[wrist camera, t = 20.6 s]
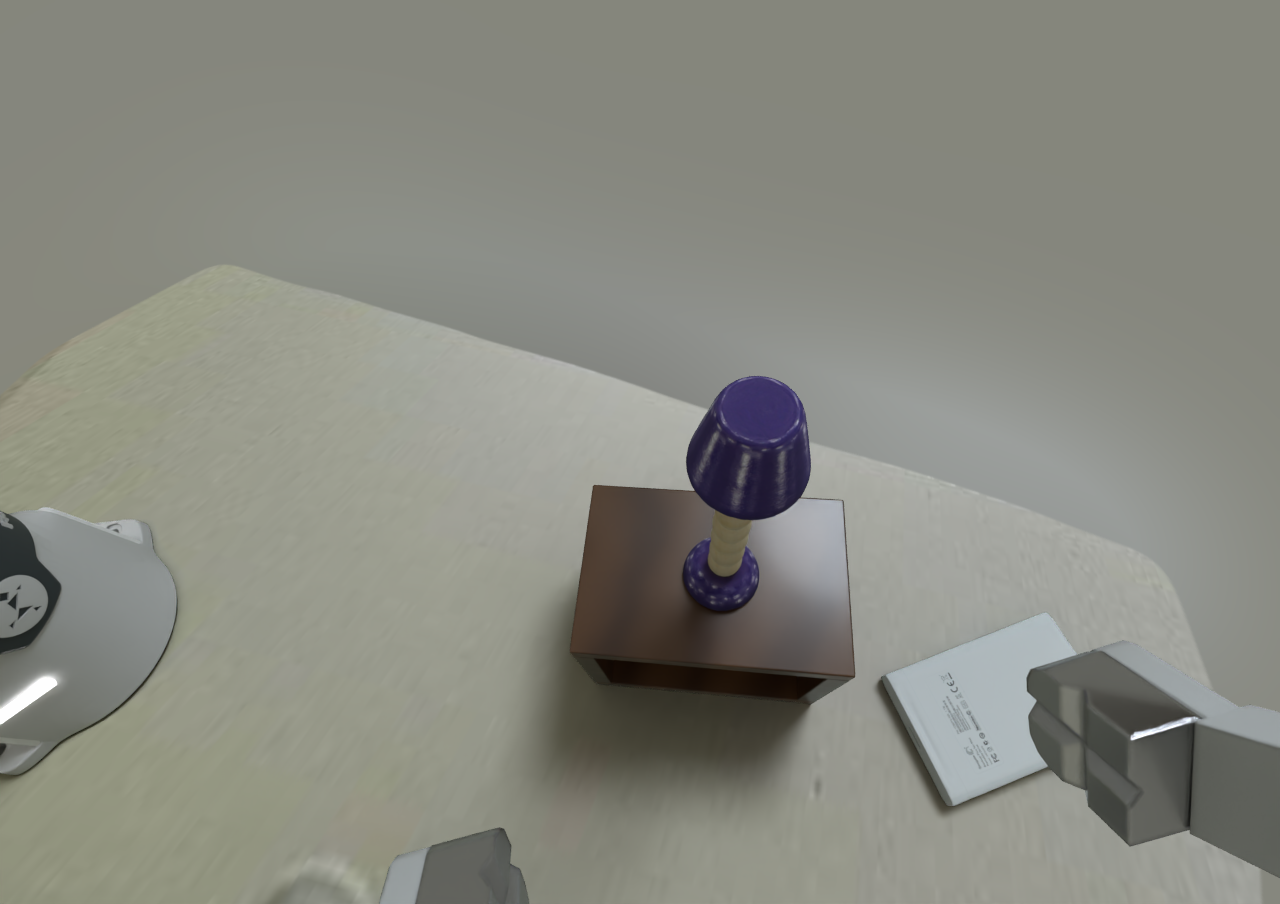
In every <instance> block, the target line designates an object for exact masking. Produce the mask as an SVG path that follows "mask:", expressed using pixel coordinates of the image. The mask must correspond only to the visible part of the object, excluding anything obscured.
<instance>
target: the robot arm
mask: <svg viewBox="0 0 1280 904" xmlns="http://www.w3.org/2000/svg"><path fill="white" fill-rule="evenodd" d="M176 608H177V595H176V588H175V584H174V581H173V578H172V576H171V574H170V572H169V570H168V568H167V567H166V566H165V565H164V563H163V562H162V561H161V560H160V559H159V558H158V556H157V555H156V554H155V552H154V550H153V542H152V535H151V531H150V528H149V526H148V525H147V524H146V523H144V522H141V521H138V520H135V519H126V520H117V521H109V522H101V523H91V522H88V521H86V520H83V519H80V518H78V517H75V516H72V515H69V514H67V513H64V512H61V511H59V510H56V509H52V508H47V507H42V508H40V509H38V510H26V511H20V512H15V513H10V514H6V513H4V512H1V511H0V773H3V774H10V775H18V774H21V773H23V772H25V771H26V770H28V769H29V768H31V767H32V766H33V765H35V764H36V763H37V762H38V761H39V760H41V759H42V758H43V757H44V756H45V755H46V754H47V753H48V752H49V751H50V750H51V749H53V748H54V747H55V746H56V745H57V744H58V743H59V742H60V741H62V740H63V739H65V738H67V737H68V736H70V735H72V734H74V733H76V732H78V731H80V730H82V729H84V728H86V727H88V726H90V725H92V724H93V723H95V722H97V721H99V720H100V719H102V718H103V717H105V716H106V715H108V714H109V713H110V712H112V711H113V710H114V709H116V708H117V707H118V706H119V705H121V704H122V703H123V702H124V701H125V700H126V699H127V698H128V697H129V696H130V695H131V694H132V693H133V692H134V691H135V690H136V689H137V688H138V687H139V686H140V685H141V684H142V682H143V681H144V680H145V679H146V678H147V676H148V675H149V674H150V672H151V671H152V669H153V668H154V666H155V665H156V663H157V662H158V660H159V658H160V657H161V655H162V653H163V651H164V649H165V647H166V645H167V643H168V640H169V638H170V635H171V632H172V629H173V625H174V621H175V616H176ZM1026 681H1027V692H1028V693H1029V694H1030V695H1031V696H1032V697H1033V698H1034V699H1036V700H1037V701H1036V703H1035V704H1034V706H1033V708H1032V710H1031V711H1030V713H1029V715H1028V720H1029V730H1030V735H1031V738H1032V740H1033V742H1034V744H1035V747H1036V749H1037V751H1038V753H1039V755H1040V756H1041V757H1042V759H1043V760H1044V762H1045V763H1046V764H1047V766H1048V767H1049V768H1050V769H1051V770H1052V771H1053V772H1054V773H1055V774H1056V775H1057V776H1058V777H1059V778H1060V779H1061V780H1062V781H1064V782H1066V783H1068V784H1071V785H1073V786H1076V787H1078V788H1081V789H1083V790H1085V792H1086V798H1087V803H1088V807H1089V808H1091V809H1092V810H1093V811H1094V812H1095V813H1096V814H1097V815H1098V816H1099V817H1100V818H1101V819H1102V820H1103V821H1104V822H1105V823H1106V824H1107V825H1108V826H1109V827H1110V828H1111V829H1112V830H1113V831H1114V832H1115V833H1116V834H1117V835H1118V836H1120V837H1121V838H1122V839H1123V840H1124V841H1125V842H1126V843H1127V844H1128V845H1129V846H1134V845H1137V844H1141V843H1144V842H1148V841H1152V840H1155V839H1159V838H1162V837H1166V836H1169V835H1173V834H1176V833H1180V832H1183V831H1187V830H1190V834H1192V835H1194V836H1196V837H1198V838H1200V839H1202V840H1204V841H1206V842H1208V843H1210V844H1212V845H1214V846H1216V847H1218V848H1220V849H1222V850H1224V851H1226V852H1228V853H1230V854H1232V855H1234V856H1236V857H1238V858H1240V859H1242V860H1244V861H1246V862H1248V863H1250V864H1252V865H1255V866H1257V867H1259V868H1261V869H1263V870H1265V871H1267V872H1269V873H1271V874H1273V875H1275V876H1277V877H1279V878H1280V712H1276V711H1273V710H1269V709H1265V708H1261V707H1257V706H1253V705H1247V706H1243V707H1238V706H1237V705H1235V704H1233V703H1232V702H1230V701H1228V700H1227V699H1225V698H1224V697H1222V696H1220V695H1219V694H1217V693H1215V692H1214V691H1212V690H1210V689H1209V688H1207V687H1206V686H1204V685H1202V684H1201V683H1199V682H1197V681H1196V680H1194V679H1193V678H1191V677H1189V676H1188V675H1186V674H1184V673H1183V672H1181V671H1179V670H1178V669H1176V668H1175V667H1173V666H1171V665H1170V664H1168V663H1166V662H1165V661H1163V660H1162V659H1160V658H1158V657H1157V656H1155V655H1153V654H1152V653H1150V652H1148V651H1147V650H1145V649H1144V648H1142V647H1140V646H1139V645H1137V644H1135V643H1132V642H1128V641H1124V640H1122V641H1119V642H1116V643H1113V644H1110V645H1106V646H1103V647H1100V648H1097V649H1094V650H1092V651H1090V652H1084V653H1081V654H1078V655H1075V656H1071V657H1068V658H1065V659H1062V660H1058V661H1055V662H1052V663H1049V664H1045V665H1042V666H1039V667H1036V668H1032V669H1030V671H1029V673H1028V675H1027V677H1026ZM5 748H6V750H5V751H4V749H5ZM3 751H4V753H3ZM510 859H511V844H510V841H509V839H508V837H507V834H506V832H505V830H504V829H503V828H500V827H499V828H495V829H491V830H488V831H484V832H480V833H476V834H473V835H469V836H465V837H462V838H458V839H454V840H450V841H447V842H443V843H439V844H435V845H432V846H431V847H428V848H424V849H420V850H416V851H413V852H409V853H405V854H401V855H397V856H396V858H395V859H394V861H393V862H392V863H391V865H390V867H389V869H388V873H387V876H386V880H385V883H384V887H383V890H382V894H381V897H380V901H379V904H529V898H528V894H527V890H526V885H525V881H524V879H523V876H522V873H521V870H520V869H519V868H517V867H515V866H514V865H512V864H510Z"/></svg>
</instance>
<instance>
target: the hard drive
mask: <svg viewBox="0 0 1280 904" xmlns="http://www.w3.org/2000/svg"><path fill="white" fill-rule="evenodd" d="M1075 655H1077V654H1076V652H1075V651H1074V649H1073V648H1072V647H1071V645H1070V644H1069V642H1068V640H1067V639H1066V638H1065V636H1064V635H1063V633H1062V632H1061V630H1060V629H1059V627H1058V626H1057V624H1056V623H1055V621H1054V620H1053V619H1052V617H1051V616H1050V615H1049V614H1048V613H1047V612H1044V613H1041V614H1039V615H1036V616H1034V617H1031V618H1029V619H1026V620H1024V621H1021V622H1018V623H1016V624H1013V625H1011V626H1008V627H1006V628H1003V629H1000V630H998V631H995V632H993V633H990V634H988V635H985V636H983V637H980V638H978V639H975V640H973V641H970V642H968V643H965V644H962V645H960V646H957V647H955V648H952V649H950V650H947V651H945V652H942V653H940V654H937V655H934V656H932V657H929V658H927V659H924V660H922V661H919V662H917V663H914V664H912V665H909V666H907V667H904V668H902V669H899V670H897V671H894V672H892V673H889V674H886V675H884V676H882V677H881V679H882V681H883V684H884V686H885V688H886V690H887V692H888V694H889V696H890V698H891V700H892V702H893V704H894V706H895V708H896V710H897V712H898V714H899V715H900V717H901V719H902V721H903V723H904V725H905V727H906V729H907V731H908V733H909V735H910V737H911V739H912V741H913V743H914V745H915V747H916V749H917V751H918V753H919V754H920V756H921V758H922V760H923V762H924V764H925V766H926V768H927V770H928V772H929V774H930V776H931V778H932V780H933V782H934V784H935V785H936V787H937V789H938V791H939V793H940V795H941V797H942V799H943V800H944V802H945V803H946V805H947V806H955V805H957V804H960V803H962V802H964V801H967V800H969V799H971V798H974V797H977V796H979V795H981V794H984V793H986V792H988V791H991V790H993V789H996V788H998V787H1001V786H1003V785H1006V784H1008V783H1010V782H1013V781H1015V780H1017V779H1020V778H1022V777H1024V776H1027V775H1029V774H1032V773H1034V772H1036V771H1039V770H1041V769H1043V768H1046V767H1048V766H1047V764H1046V763H1045V762H1044V760H1043V759H1042V757H1041V756H1040V755H1039V753H1038V751H1037V749H1036V747H1035V744H1034V742H1033V740H1032V738H1031V735H1030V730H1029V720H1028V715H1029V713H1030V711H1031V710H1032V708H1033V706H1034V704H1035V703H1036V701H1037V700H1036V699H1034V698H1033V697H1032V696H1031V695H1030V694H1029V693H1028V692H1027V681H1026V677H1027V675H1028V673H1029V671H1030V669H1032V668H1036V667H1039V666H1042V665H1045V664H1049V663H1052V662H1055V661H1058V660H1062V659H1065V658H1068V657H1071V656H1075Z"/></svg>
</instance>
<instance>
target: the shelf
mask: <svg viewBox="0 0 1280 904" xmlns="http://www.w3.org/2000/svg"><path fill="white" fill-rule="evenodd" d="M714 514H715V509H713V508H711V507H710V506H708V505H707V504H706V503H705V502H704V501H703V500H702V499H701V498H700V496H699V495H698V494H697V493H696V491H684V490H668V489H651V488H635V487H618V486H602V485H594V486H593V490H592V497H591V504H590V511H589V518H588V525H587V532H586V539H585V546H584V553H583V560H582V567H581V574H580V581H579V588H578V595H577V602H576V609H575V616H574V623H573V630H572V637H571V644H570V653H571V654H572V656H573V657H574V658H575V659H576V660H577V662H578V663H579V664H580V665H581V666H582V668H583V669H584V670H585V671H586V672H587V673H588V675H589V676H590V677H591V678H592V679H593V680H594V681H595V683H596V684H600V685H611V686H622V687H633V688H644V689H655V690H665V691H676V692H687V693H698V694H709V695H720V696H730V697H741V698H752V699H763V700H774V701H785V702H795V703H806V704H812V703H814V702H816V701H817V700H819V699H820V698H822V697H824V696H825V695H827V694H829V693H830V692H832V691H833V690H835V689H837V688H838V687H840V686H842V685H843V684H845V683H847V682H848V681H849V680H851V679H853V678H855V664H854V649H853V634H852V619H851V604H850V590H849V575H848V560H847V545H846V530H845V515H844V502H843V500H833V499H817V498H799V499H798V500H797V502H796V503H795V504H794V505H792V506H791V507H790V508H789V509H787V510H786V511H784V512H783V513H780V514H778V515H776V516H775V517H770V518H767V519H762V520H752V526H751V529H750V532H749V537H748V542H747V544H746V546H747V547H748V548H749V549H750V551H751V552H752V553H753V555H754V557H755V559H756V561H757V564H758V567H759V583H758V588H757V590H756V592H755V594H754V596H753V597H752V598H751V599H750V600H749V601H748V602H747V603H745V604H744V605H743V606H741V607H739V608H736V609H732V610H728V611H716V610H712V609H708V608H707V607H705V606H703V605H701V604H699V603H698V602H697V601H696V600H695V599H694V598H693V597H692V596H691V595H690V593H689V592H688V590H687V588H686V586H685V583H684V579H683V568H684V563H685V560H686V558H687V556H688V554H689V553H690V551H691V550H692V549H693V548H694V547H695V546H696V545H697V544H698V543H700V542H701V541H703V540H705V539H707V538H710V537H711V531H712V528H713V525H712V520H713V516H714Z"/></svg>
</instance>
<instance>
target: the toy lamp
mask: <svg viewBox="0 0 1280 904" xmlns="http://www.w3.org/2000/svg"><path fill="white" fill-rule="evenodd" d="M686 466H687V473H688V477H689V479H690V482H691V484H692V486H693V488H694V490H695V491H696V493H697V494H698V495H699V496H700V498H701V499H702V500H703V501H704V502H705V503H706V504H707V505H708V506H710V507H711V508H713V509H715V514H714V516H713V520H712V525H713V528H712V531H711V537H710V538H707V539H705V540H703V541H701V542H700V543H698V544H697V545H696V546H695V547H694V548H693V549H692V550H691V551H690V553H689V554H688V556H687V558H686V560H685V563H684V568H683V579H684V583H685V586H686V588H687V590H688V592H689V593H690V595H691V596H692V597H693V598H694V599H695V600H696V601H697V602H698V603H699V604H701V605H703V606H705V607H707V608H708V609H712V610H716V611H728V610H732V609H736V608H739V607H741V606H743V605H744V604H745V603H747V602H748V601H749V600H750V599H751V598H752V597H753V596H754V594H755V592H756V590H757V588H758V583H759V567H758V564H757V561H756V559H755V557H754V555H753V553H752V552H751V551H750V549H749V548H748V547H747V546H746V544H747V542H748V537H749V532H750V529H751V526H752V520H762V519H767V518H770V517H775V516H776V515H778V514H780V513H783V512H784V511H786V510H787V509H789V508H790V507H791V506H792V505H794V504H795V503H796V502H797V500H798V499H799V498H800V497H801V495H802V494H803V492H804V490H805V488H806V486H807V483H808V480H809V476H810V470H811V459H810V448H809V439H808V430H807V422H806V415H805V411H804V408H803V405H802V403H801V401H800V400H799V398H798V396H797V395H796V393H795V392H794V391H793V390H792V389H790V388H789V387H788V386H787V385H785V384H784V383H782V382H780V381H778V380H775V379H772V378H769V377H762V376H751V377H746V378H741V379H739V380H736V381H734V382H733V383H731V384H729V385H728V386H727V387H725V388H724V389H723V390H722V391H721V392H720V394H719V395H718V396H717V397H716V399H715V400H714V402H713V403H712V405H711V407H710V408H709V410H708V412H707V413H706V415H705V416H704V418H703V420H702V421H701V423H700V425H699V426H698V428H697V430H696V431H695V433H694V435H693V437H692V439H691V441H690V444H689V447H688V452H687V458H686Z"/></svg>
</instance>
